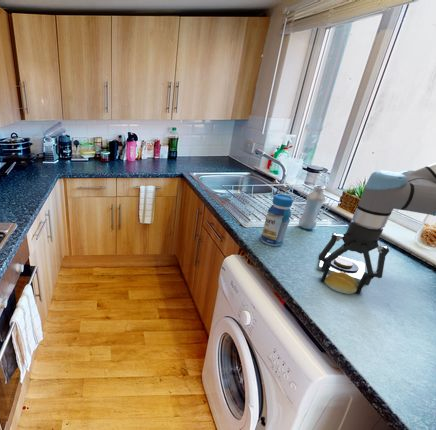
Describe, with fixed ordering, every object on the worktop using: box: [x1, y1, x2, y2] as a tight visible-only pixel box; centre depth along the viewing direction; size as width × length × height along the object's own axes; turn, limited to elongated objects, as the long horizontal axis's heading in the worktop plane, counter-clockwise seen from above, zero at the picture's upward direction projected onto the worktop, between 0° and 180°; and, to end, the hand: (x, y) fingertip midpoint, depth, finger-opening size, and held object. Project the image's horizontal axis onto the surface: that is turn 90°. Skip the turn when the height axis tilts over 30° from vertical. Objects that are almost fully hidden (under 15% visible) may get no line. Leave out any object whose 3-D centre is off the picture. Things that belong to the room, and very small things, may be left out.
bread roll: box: [324, 272, 359, 295], centre depth 92 cm, size 8×9×4 cm
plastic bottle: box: [298, 184, 326, 230], centre depth 127 cm, size 6×7×20 cm
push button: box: [317, 252, 366, 284], centre depth 102 cm, size 13×13×3 cm
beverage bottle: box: [260, 193, 294, 247], centre depth 115 cm, size 8×8×20 cm
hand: (340, 285), depth 94 cm, fingers closed on bread roll, 9 cm apart
